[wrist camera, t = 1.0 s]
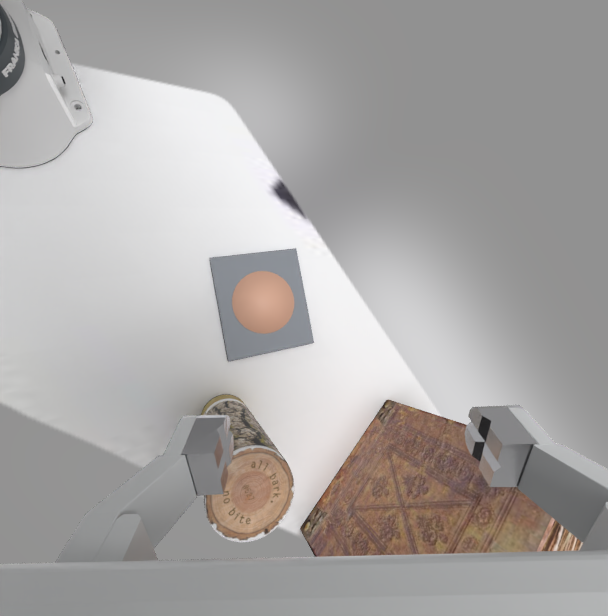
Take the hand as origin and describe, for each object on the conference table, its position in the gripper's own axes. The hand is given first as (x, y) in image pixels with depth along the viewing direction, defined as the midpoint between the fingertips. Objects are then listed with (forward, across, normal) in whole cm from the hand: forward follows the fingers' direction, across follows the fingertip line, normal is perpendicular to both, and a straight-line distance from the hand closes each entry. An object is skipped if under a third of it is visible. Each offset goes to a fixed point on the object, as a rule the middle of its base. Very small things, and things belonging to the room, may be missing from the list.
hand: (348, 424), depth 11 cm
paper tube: (+28, +15, +26) cm, 41 cm away
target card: (+38, +9, +12) cm, 41 cm away
